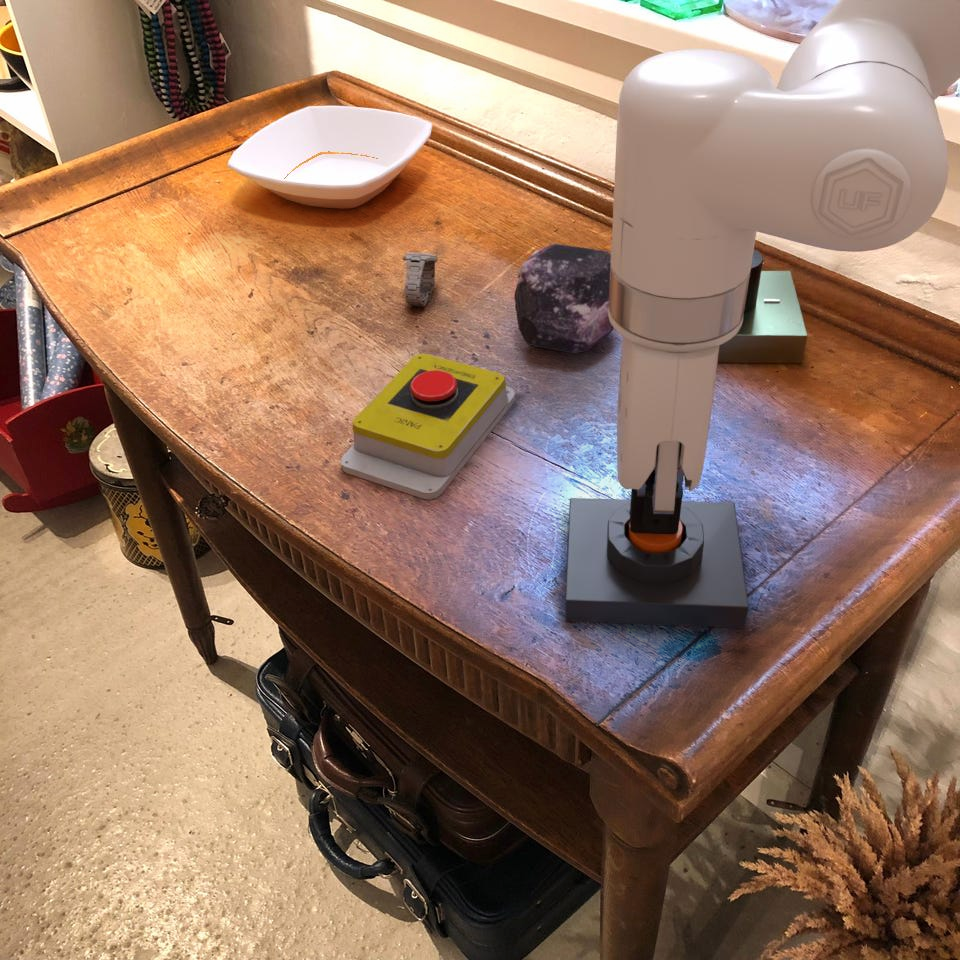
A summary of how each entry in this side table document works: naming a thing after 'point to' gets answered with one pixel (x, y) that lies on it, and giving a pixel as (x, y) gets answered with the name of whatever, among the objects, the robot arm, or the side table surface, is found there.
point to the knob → (754, 280)
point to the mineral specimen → (564, 298)
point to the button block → (655, 568)
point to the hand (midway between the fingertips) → (653, 525)
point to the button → (656, 541)
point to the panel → (769, 326)
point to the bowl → (331, 174)
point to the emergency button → (426, 425)
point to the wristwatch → (419, 278)
